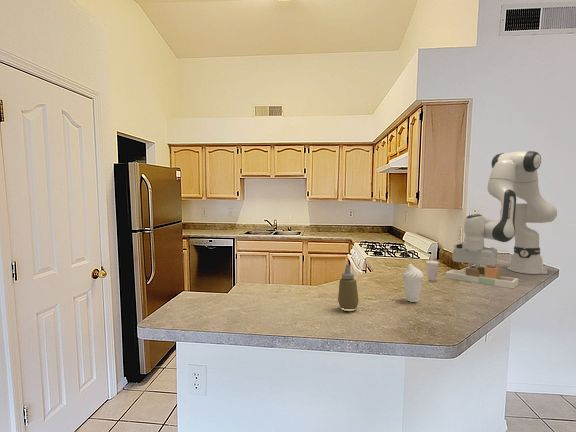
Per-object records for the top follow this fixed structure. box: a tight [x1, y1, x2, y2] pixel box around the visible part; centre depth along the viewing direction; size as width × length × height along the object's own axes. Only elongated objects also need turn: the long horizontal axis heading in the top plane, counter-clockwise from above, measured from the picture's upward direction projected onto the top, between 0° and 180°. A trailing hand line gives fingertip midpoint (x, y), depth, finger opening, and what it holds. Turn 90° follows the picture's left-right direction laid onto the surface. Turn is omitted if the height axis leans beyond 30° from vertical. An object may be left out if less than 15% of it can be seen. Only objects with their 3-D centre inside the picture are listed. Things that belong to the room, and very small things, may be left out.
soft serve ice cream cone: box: [401, 263, 424, 303], centre depth 131 cm, size 8×8×16 cm
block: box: [485, 265, 500, 279], centre depth 156 cm, size 5×5×5 cm
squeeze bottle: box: [337, 264, 359, 309], centre depth 123 cm, size 8×8×18 cm
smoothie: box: [425, 253, 440, 282], centre depth 165 cm, size 6×6×14 cm
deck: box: [444, 265, 520, 289], centre depth 161 cm, size 10×30×6 cm, turn 42°
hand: (473, 272), depth 163 cm, fingers closed
